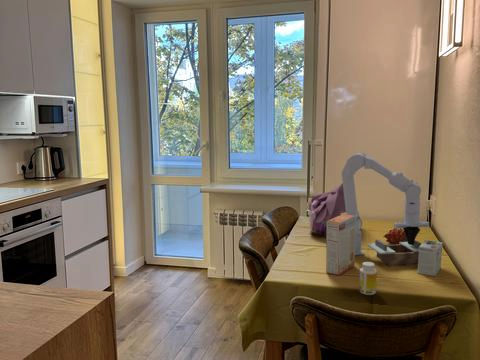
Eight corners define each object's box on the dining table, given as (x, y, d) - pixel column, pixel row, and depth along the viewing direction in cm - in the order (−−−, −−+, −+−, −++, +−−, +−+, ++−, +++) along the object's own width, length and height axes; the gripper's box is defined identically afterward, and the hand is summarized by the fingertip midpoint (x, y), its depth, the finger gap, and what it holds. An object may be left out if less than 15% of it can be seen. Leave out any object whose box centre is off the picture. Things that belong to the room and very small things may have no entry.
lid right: (414, 252, 175) (414, 244, 175) (399, 243, 187) (399, 236, 186) (429, 251, 176) (430, 244, 175) (413, 242, 188) (414, 236, 187)
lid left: (379, 254, 173) (380, 246, 173) (366, 245, 185) (367, 238, 184) (395, 253, 174) (395, 245, 173) (381, 244, 186) (382, 237, 185)
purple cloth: (349, 251, 210) (364, 196, 202) (301, 239, 214) (313, 185, 206) (348, 226, 243) (360, 178, 235) (306, 216, 247) (317, 169, 239)
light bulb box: (423, 265, 175) (424, 239, 174) (441, 268, 172) (443, 242, 170) (417, 273, 167) (418, 246, 165) (435, 276, 163) (437, 249, 161)
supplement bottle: (378, 292, 149) (380, 263, 148) (371, 297, 145) (372, 267, 144) (363, 287, 153) (364, 259, 151) (356, 292, 149) (357, 263, 147)
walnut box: (390, 266, 174) (390, 254, 174) (376, 256, 186) (377, 245, 185) (422, 264, 176) (423, 252, 176) (407, 254, 188) (407, 243, 187)
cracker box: (341, 263, 179) (342, 213, 176) (354, 266, 175) (356, 215, 172) (324, 272, 168) (325, 220, 165) (339, 276, 164) (340, 222, 161)
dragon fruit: (412, 249, 201) (385, 251, 204) (409, 235, 207) (383, 236, 210) (411, 238, 195) (383, 239, 199) (409, 223, 201) (382, 225, 205)
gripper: (400, 215, 174) (399, 247, 176) (434, 213, 176) (432, 246, 178) (391, 211, 181) (390, 243, 183) (424, 210, 183) (422, 241, 185)
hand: (410, 244), depth 181 cm, fingers closed
